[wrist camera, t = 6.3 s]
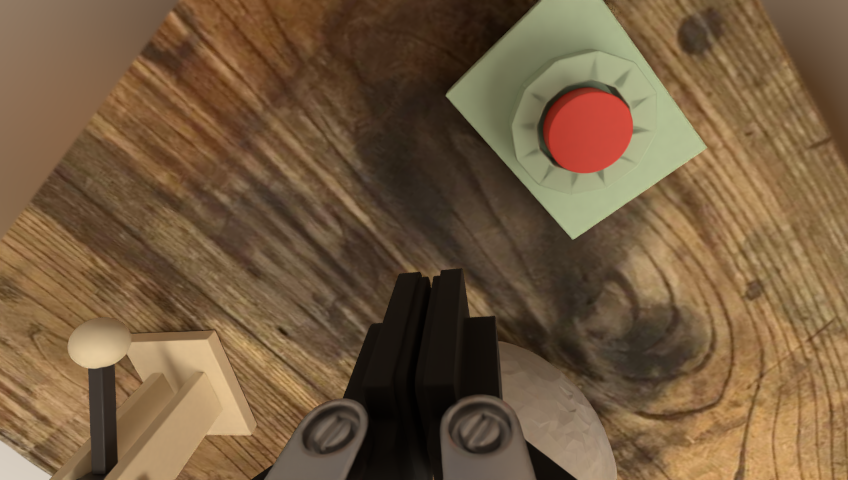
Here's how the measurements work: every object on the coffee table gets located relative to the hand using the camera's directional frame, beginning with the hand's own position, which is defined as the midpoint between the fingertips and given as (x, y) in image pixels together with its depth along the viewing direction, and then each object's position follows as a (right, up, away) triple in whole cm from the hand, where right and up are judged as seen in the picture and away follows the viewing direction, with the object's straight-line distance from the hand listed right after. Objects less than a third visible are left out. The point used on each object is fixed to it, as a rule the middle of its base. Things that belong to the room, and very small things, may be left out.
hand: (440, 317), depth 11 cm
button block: (+8, +9, +12) cm, 17 cm away
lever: (-22, -10, +18) cm, 30 cm away
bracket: (-21, -10, +25) cm, 34 cm away
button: (+7, +8, +9) cm, 14 cm away
